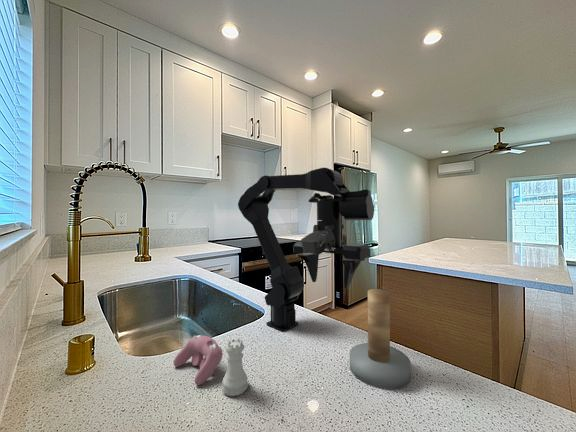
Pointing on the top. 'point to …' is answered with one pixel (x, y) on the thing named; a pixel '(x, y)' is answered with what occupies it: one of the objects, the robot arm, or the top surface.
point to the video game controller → (200, 356)
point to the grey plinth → (380, 368)
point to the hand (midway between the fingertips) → (329, 284)
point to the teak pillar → (379, 325)
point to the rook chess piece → (234, 370)
